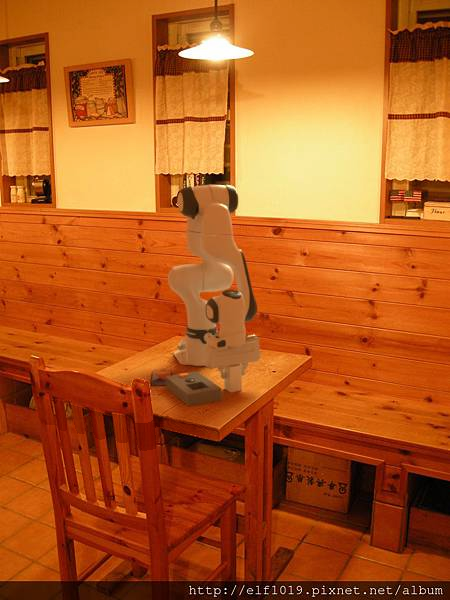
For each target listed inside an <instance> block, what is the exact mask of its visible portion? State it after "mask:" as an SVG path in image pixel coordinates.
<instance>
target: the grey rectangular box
mask: <svg viewBox="0 0 450 600" xmlns="http://www.w3.org/2000/svg"><path fill="white" fill-rule="evenodd" d="M165 384H166V386H165V388H166V389H167V390H168V391H169V392H170V393H172V394H173V395H174V396H175V397H176V398H177V399H179V400H180V401H181V402H182V403H184V404H185V405H186V406H187V407H192V406H198V405H203V404H208V403H213V402H217V401H218V402H219V401H222V387H220V386H218V385H217V384H215V383H214V382H213V381H211V380H210V379H209V378H207V377H205V376H204V375H203V374H201V373H200V372H199V371H198V370H196V371H188V372H182V373H178V374H172V375H171V376H165Z"/></svg>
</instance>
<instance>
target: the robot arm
mask: <svg viewBox="0 0 450 600" xmlns="http://www.w3.org/2000/svg"><path fill="white" fill-rule="evenodd" d="M177 195H178V196H177V200H176V201H177V206H178V210H179V212H180V213H181V215H183V216H185V217H186V218H187V219H186V248H187V250H188V252H189V253H190V254H192V255H193V256H196V257H198V258H200V259H201V261H202V262H201V263H191V264H190V263H189V264H187V263H186V264H179V265H175V266H173V267H171V269H170V270H169V271H168V274H167V284H168V286H169V288H170V289H171V291H173V292H174V293H176V294H177V295H178V296H179V297H180V299H181V300H182V301H183V303H184V305H185V308H186V314H187V315H186V317H187V325H186V328H185V329H186V330H185V335H184V336H183V338H181V340H180V341H179V343H178V344H177V350H175V351H174V352H173V355H174V356H175V358H176V360H177V361H178V362H179V364H180V365H183V366H185V365H187V366H188V365H189V366H195V367H203V366H204V367H207V368H208V369H210V370H211V369H213V370H214V369H218V371H219V373H220V378H221V379H222V380H223V379H224V380H225V378H227V373H225V372H224V367H225V366H231V365H237V364H240V365H242V376H245V373H246V372H245V371H246V370H247V367H248V366H249V363H254V362H259V361H260V359H261V351H260V349H261V348H260V338H259V336H257V335H256V334H251V335H246V333H247V332H246V331H247V330H246V326H245V323H246V322H247V323H248V322H251V321H252V320H253V319H254V318H255V316H256V315H257V313H258V305H257V300H256V298H255V294H254V292H253V287H252V283H251V278H250V274H249V268H248V265H247V261H246V257H245V255H244V251H242V249H240V248H238V246H237V244H236V242H235V238H234V232H233V231H234V230H233V229H234V228H233V222H232V216H231V214H233V213H235V212H236V210H237V209H238V207H239V194H238V191H237V189H236V188H235V186H233V185H230V184H223V185H222V184H205V185H197V186H196V185H195V186H186V187H183V188H181V189H180V191H179V192H178V194H177ZM234 280H235V283H236V287H237V290H235V289H230V288H231V287H232V285H233V284H234V283H233V282H234ZM220 291H221V292H220ZM205 292H206V293H210V292H211V293H212V292H220V295H217V296H213V297H210V298H209V299H208V300H206V299H203V298H202V297H201V293H205ZM218 324H219V326H220V327H219V331H218V326H217V325H218Z"/></svg>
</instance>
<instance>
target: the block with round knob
mask: <svg viewBox="0 0 450 600" xmlns="http://www.w3.org/2000/svg"><path fill="white" fill-rule="evenodd" d="M223 371H224V372H225V373H227V378H225V379H224V389H225V390H226V391H228V392H229V393H235V392H239V391H242V389H243V388H242V387H243V386H242V383H243V381H242V380H243V379H242V378H243V377H242V376H243V375H242V364H237V365H231V366H225V367H224V370H223Z"/></svg>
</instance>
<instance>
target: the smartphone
mask: <svg viewBox="0 0 450 600" xmlns="http://www.w3.org/2000/svg"><path fill="white" fill-rule="evenodd" d="M171 375H173V371H172V370H171V369H165V370H163V369H162V370H161V369H160V370H152V374H151V380H150V386H151V387H166V384H165V376H171Z"/></svg>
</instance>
